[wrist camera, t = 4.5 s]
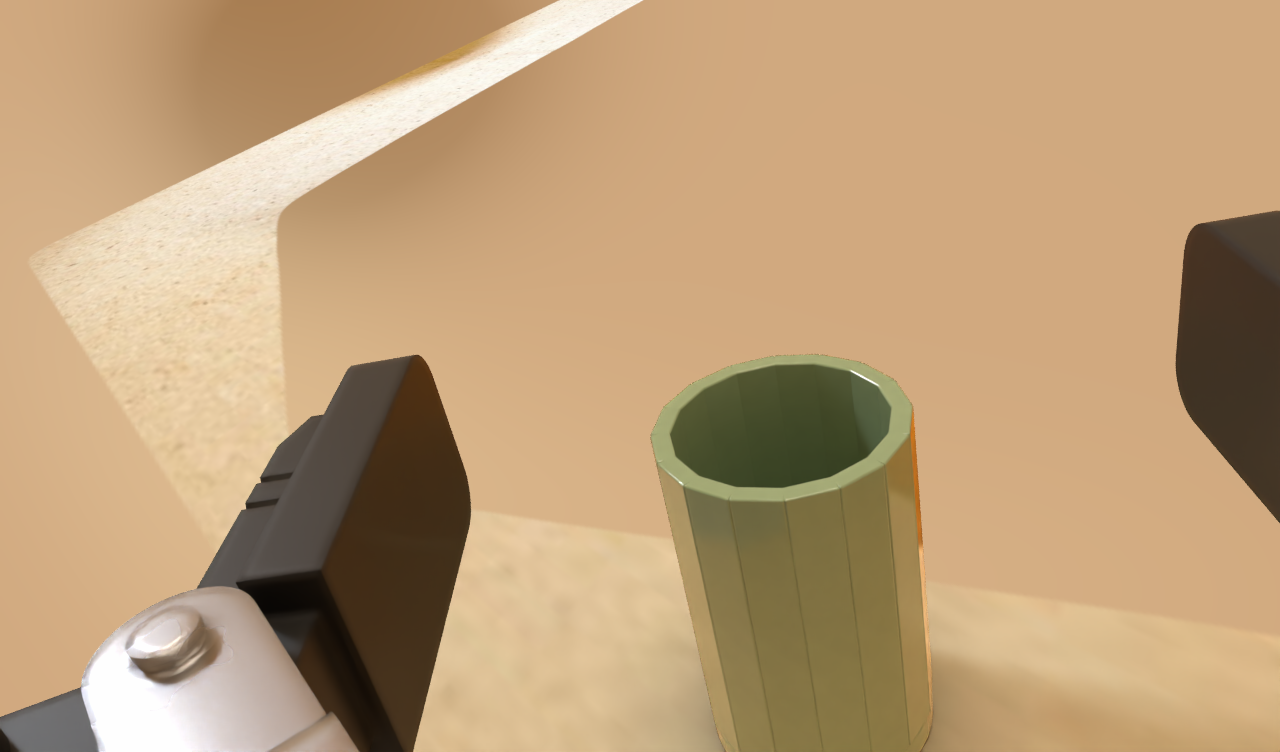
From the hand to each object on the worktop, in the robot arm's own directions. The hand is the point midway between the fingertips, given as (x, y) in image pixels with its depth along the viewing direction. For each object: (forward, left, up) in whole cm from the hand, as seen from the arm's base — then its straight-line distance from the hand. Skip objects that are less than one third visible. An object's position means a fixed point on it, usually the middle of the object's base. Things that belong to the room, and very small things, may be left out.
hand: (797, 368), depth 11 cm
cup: (+6, +10, -18) cm, 21 cm away
